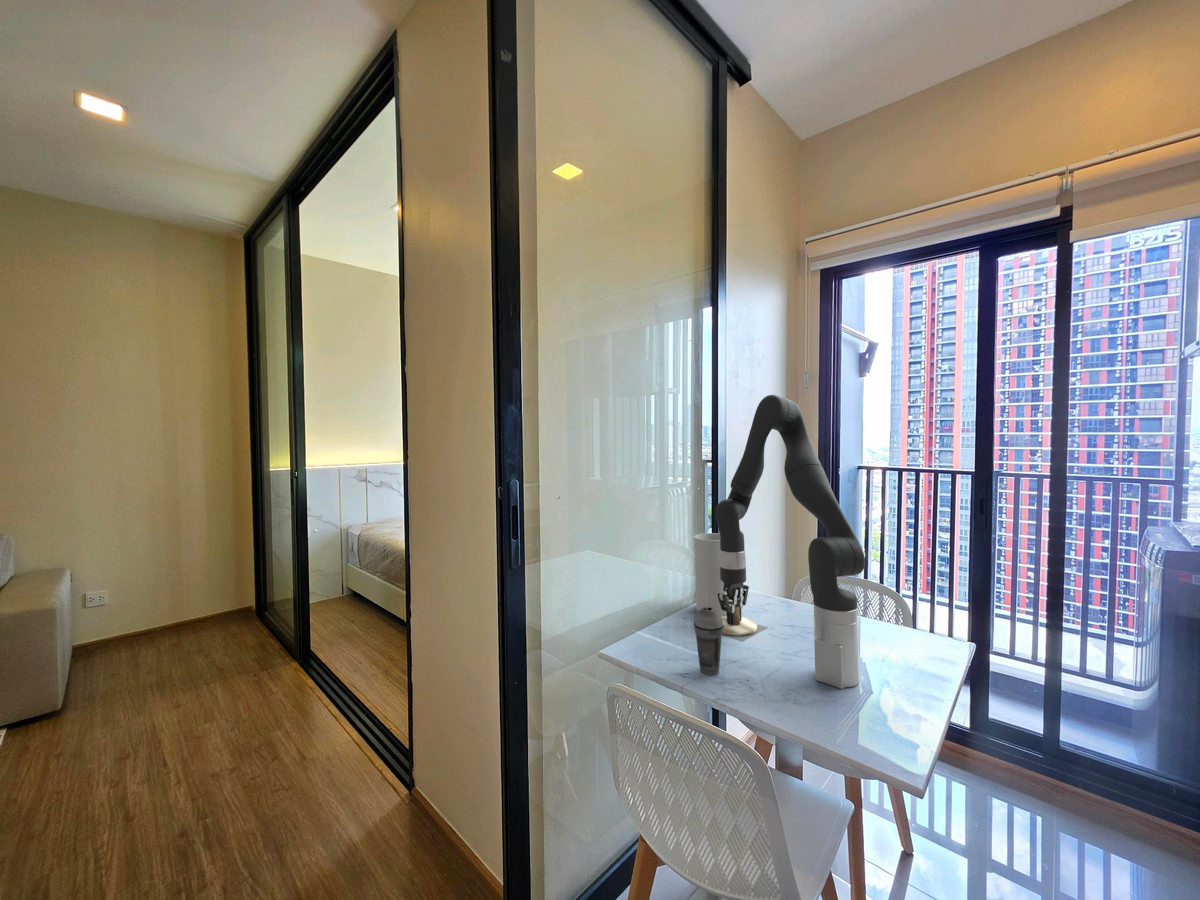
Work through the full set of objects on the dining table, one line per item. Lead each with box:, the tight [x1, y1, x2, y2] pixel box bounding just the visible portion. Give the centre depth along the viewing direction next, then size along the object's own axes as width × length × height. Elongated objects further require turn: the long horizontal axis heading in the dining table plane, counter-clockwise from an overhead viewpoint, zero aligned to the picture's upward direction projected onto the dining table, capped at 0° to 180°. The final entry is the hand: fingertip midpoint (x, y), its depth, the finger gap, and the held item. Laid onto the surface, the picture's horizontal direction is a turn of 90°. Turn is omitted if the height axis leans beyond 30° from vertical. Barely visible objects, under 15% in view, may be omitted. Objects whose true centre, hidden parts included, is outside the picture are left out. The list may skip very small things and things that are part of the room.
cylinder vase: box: [693, 532, 732, 617], centre depth 158 cm, size 12×12×25 cm
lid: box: [721, 605, 757, 636], centre depth 142 cm, size 13×13×6 cm
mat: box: [722, 623, 769, 642], centre depth 142 cm, size 14×14×1 cm
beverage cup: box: [692, 589, 724, 677], centre depth 117 cm, size 7×7×20 cm
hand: (734, 622), depth 142 cm, fingers closed on lid, 3 cm apart
